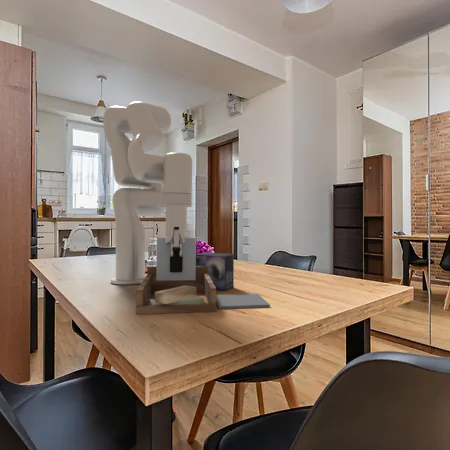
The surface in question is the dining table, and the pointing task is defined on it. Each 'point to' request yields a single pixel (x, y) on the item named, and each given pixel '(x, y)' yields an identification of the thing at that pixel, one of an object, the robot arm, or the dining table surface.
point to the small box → (218, 269)
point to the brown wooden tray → (154, 285)
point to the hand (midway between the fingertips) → (176, 270)
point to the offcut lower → (191, 300)
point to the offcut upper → (175, 294)
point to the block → (164, 260)
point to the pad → (240, 301)
